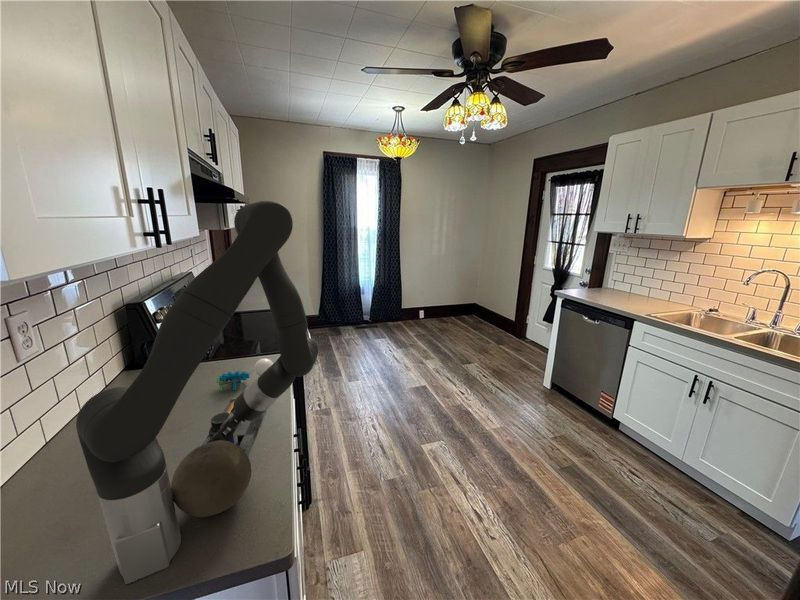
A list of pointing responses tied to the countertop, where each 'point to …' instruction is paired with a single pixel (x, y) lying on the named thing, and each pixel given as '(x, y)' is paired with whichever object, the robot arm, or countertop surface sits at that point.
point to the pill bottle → (216, 424)
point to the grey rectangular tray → (244, 429)
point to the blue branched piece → (231, 379)
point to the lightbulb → (262, 365)
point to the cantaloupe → (211, 478)
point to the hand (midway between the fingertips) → (217, 435)
